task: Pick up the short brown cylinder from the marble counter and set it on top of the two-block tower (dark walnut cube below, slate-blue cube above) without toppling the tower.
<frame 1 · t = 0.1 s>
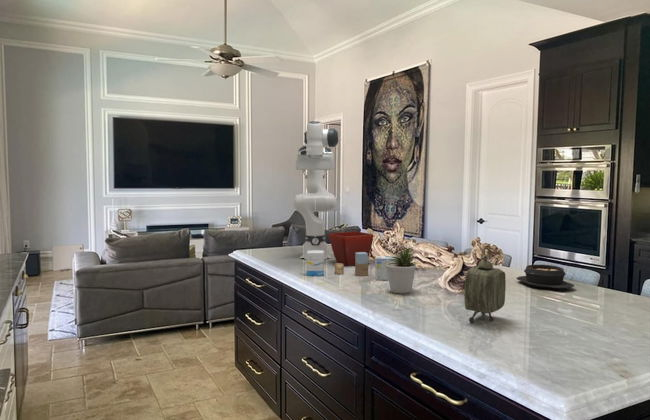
hand: (315, 178, 251), 48 cm above the countertop, tool pointing down, fingers open, 8 cm apart
ink box: (315, 274, 240), on the countertop
tower base: (361, 274, 238), on the countertop, touching tower top
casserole: (544, 286, 213), on the countertop
tower top: (361, 263, 238), point 6 cm above the countertop, touching tower base
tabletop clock: (485, 320, 163), on the countertop
brown cylinder: (339, 273, 241), on the countertop
potted plant: (402, 292, 204), on the countertop
light bulb box: (386, 279, 228), on the countertop
plant pot: (350, 263, 269), on the countertop
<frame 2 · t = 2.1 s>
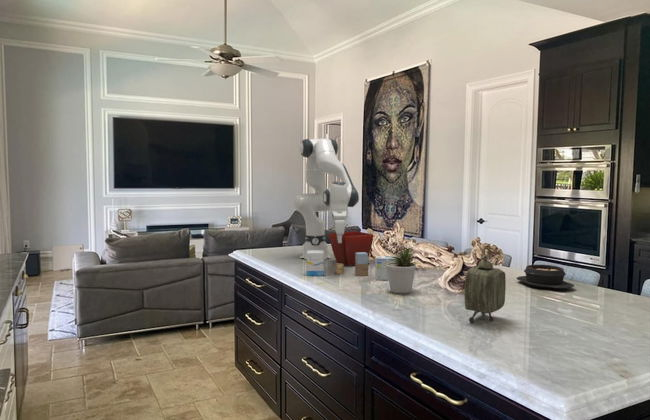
hand: (339, 241, 240), 16 cm above the countertop, tool pointing down, fingers open, 8 cm apart
nothing on the countertop moved.
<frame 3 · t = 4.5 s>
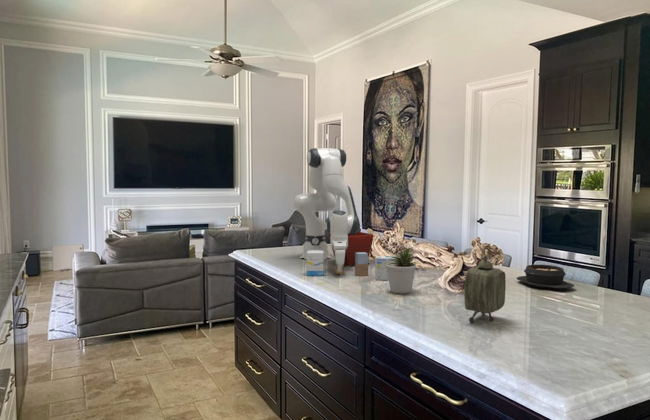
hand: (339, 270, 241), 2 cm above the countertop, tool pointing down, fingers closed on brown cylinder, 4 cm apart
brown cylinder: (339, 273, 241), on the countertop, touching gripper
everything else where it was.
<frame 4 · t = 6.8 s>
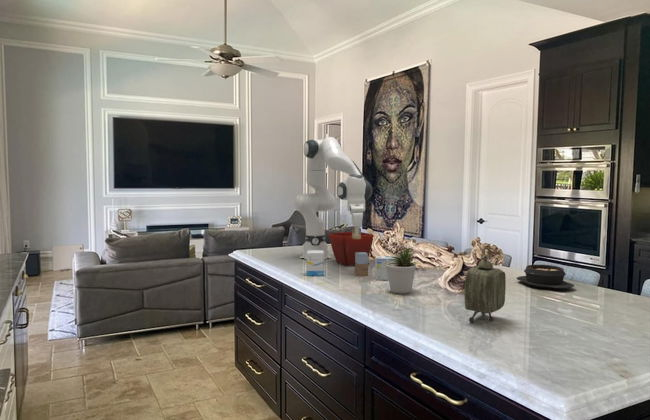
hand: (356, 235, 237), 20 cm above the countertop, tool pointing down, fingers closed on brown cylinder, 4 cm apart
brown cylinder: (356, 238, 237), point 18 cm above the countertop, touching gripper
everything else where it was.
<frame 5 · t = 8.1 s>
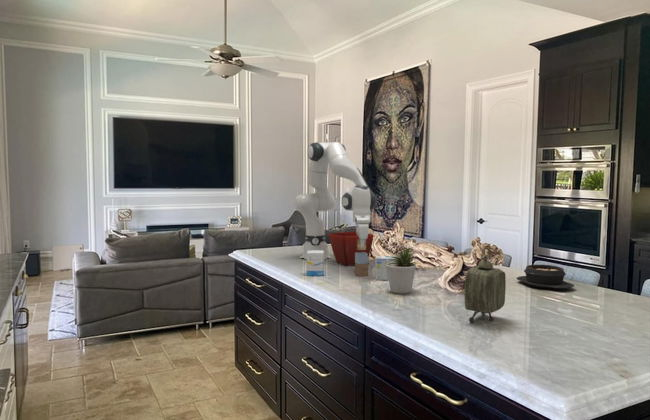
hand: (361, 246, 237), 14 cm above the countertop, tool pointing down, fingers closed on brown cylinder, 4 cm apart
brown cylinder: (361, 249, 237), point 13 cm above the countertop, touching gripper
everything else where it was.
when the fingers open (14 cm above the countertop, at t = 9.1 s): brown cylinder stays where it is, resting on tower top.
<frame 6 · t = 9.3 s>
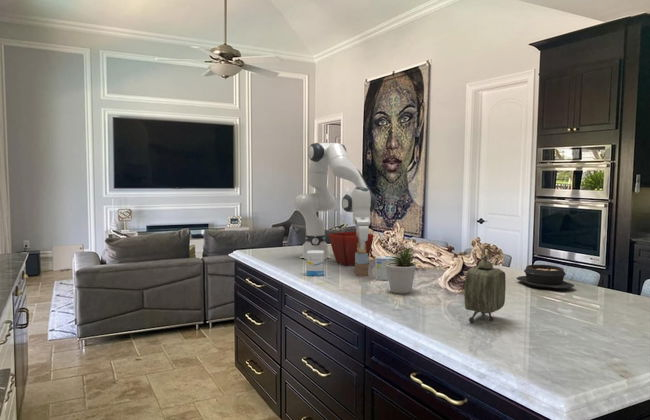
hand: (361, 247, 237), 14 cm above the countertop, tool pointing down, fingers open, 6 cm apart
tower top: (361, 263, 238), point 6 cm above the countertop, touching brown cylinder, tower base
brown cylinder: (361, 253, 237), point 11 cm above the countertop, touching tower top
everything else where it was.
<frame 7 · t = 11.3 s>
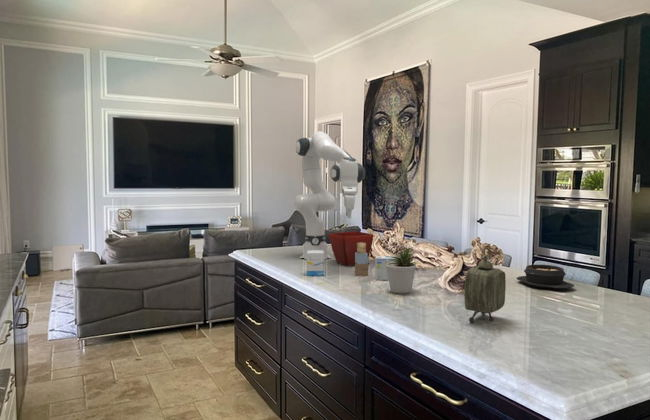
hand: (348, 216, 243), 28 cm above the countertop, tool pointing down, fingers open, 8 cm apart
nothing on the countertop moved.
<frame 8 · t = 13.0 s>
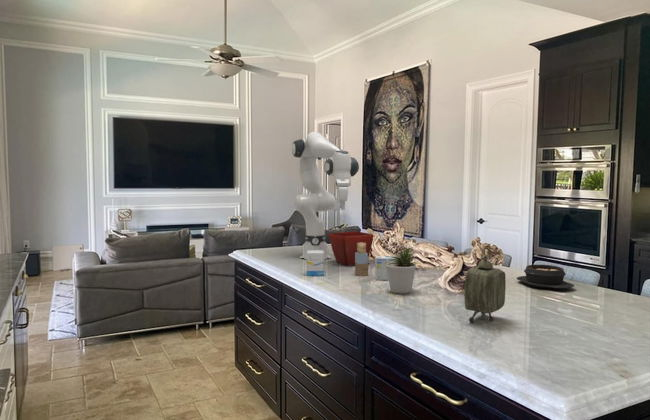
hand: (342, 209, 246), 32 cm above the countertop, tool pointing down, fingers open, 8 cm apart
tower base: (361, 274, 238), on the countertop
tower top: (361, 263, 238), point 6 cm above the countertop, touching brown cylinder
everything else where it was.
at the end: brown cylinder 0.0 cm off-centre on the tower base, point 11.0 cm above the tower base's base; tower top tilted 0°; the gripper is holding nothing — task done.
